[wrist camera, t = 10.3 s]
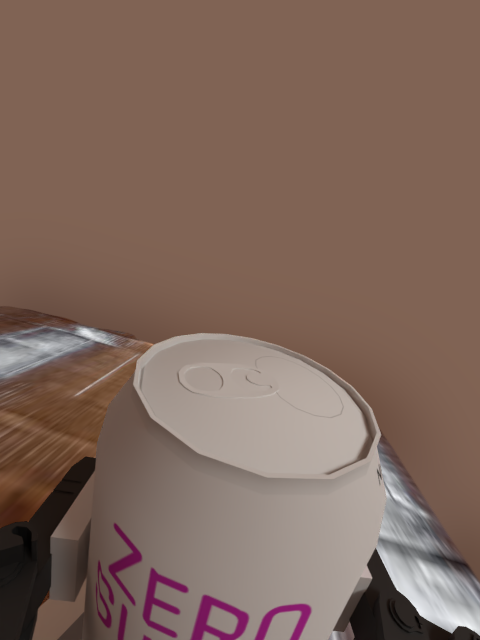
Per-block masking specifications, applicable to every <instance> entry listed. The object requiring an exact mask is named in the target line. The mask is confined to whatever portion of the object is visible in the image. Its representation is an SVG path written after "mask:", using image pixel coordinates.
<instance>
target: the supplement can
mask: <svg viewBox="0 0 480 640" xmlns="http://www.w3.org/2000/svg"><path fill="white" fill-rule="evenodd" d="M380 436H381V433H380V430H379V427H378V425H377V422H376V419H375V417H374V414H373V411H372V408H371V407H370V406H369V405H368V404H367V403H366V402H365V400H364V399H363V398H362V397H361V396H360V395H359V394H358V393H357V391H356V390H355V389H354V388H353V387H352V386H351V385H350V384H348V383H347V382H346V381H344V380H343V379H341V378H340V377H339V376H337V375H336V374H335V373H333V372H332V371H331V370H329V369H328V368H326V367H324V366H322V365H320V364H318V363H316V362H315V361H313V360H311V359H309V358H307V357H305V356H304V355H301V354H298V353H296V352H294V351H291V350H288V349H286V348H283V347H281V346H278V345H275V344H271V343H268V342H264V341H260V340H256V339H253V338H247V337H241V336H234V335H228V334H206V333H199V334H192V335H184V336H176V337H173V338H171V339H168V340H165V341H163V342H160V343H157V344H155V345H153V346H152V347H151V348H150V349H149V350H148V351H147V352H146V353H144V354H143V355H142V356H141V357H140V358H139V359H138V360H137V365H136V371H135V372H134V373H133V375H132V376H131V377H130V379H129V380H128V381H127V382H126V384H125V385H124V386H123V387H122V389H121V390H120V391H119V393H118V394H117V395H116V396H115V398H114V399H113V400H112V401H111V403H110V404H109V406H108V410H107V413H106V416H105V419H104V423H103V426H102V429H101V433H100V436H99V439H98V442H97V452H96V465H95V478H94V491H93V504H92V517H91V530H90V543H89V555H88V568H87V581H86V594H85V607H84V620H83V633H82V640H328V639H329V637H330V635H331V633H332V631H333V629H334V627H335V625H336V623H337V621H338V619H339V617H340V615H341V614H342V612H343V610H344V608H345V606H346V604H347V602H348V600H349V598H350V596H351V594H352V592H353V590H354V588H355V586H356V585H357V583H358V581H359V579H360V577H361V575H362V573H363V571H364V569H365V567H366V565H367V563H368V561H369V559H370V558H371V556H372V554H373V552H374V550H375V548H376V546H377V541H378V537H379V532H380V527H381V523H382V518H383V513H384V509H385V504H386V499H387V498H386V493H385V487H384V482H383V477H382V472H381V466H380V461H379V456H378V451H377V444H378V442H379V439H380Z"/></svg>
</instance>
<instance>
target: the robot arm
mask: <svg viewBox="0 0 480 640" xmlns="http://www.w3.org/2000/svg"><path fill="white" fill-rule="evenodd" d="M95 465H96V458H92V457H84V458H83V459H82V460H80V461H79V462H78V463H76V464H75V465H74V466H72V467H71V469H70V470H69V471H68V472H67V474H66V475H65V476H64V478H63V479H62V481H61V482H60V483H59V484H58V485H57V486H56V488H55V489H54V491H53V492H52V493H51V494H50V495H49V497H48V498H47V499H46V500H45V502H44V503H43V504H42V505H41V507H40V508H39V509H38V510H37V512H36V513H35V514H34V515H33V517H32V518H31V519H30V521H29V522H27V521H25V522H15V523H12V524H10V525H7V526H5V527H2V528H1V529H0V640H32V638H33V634H34V629H35V625H36V621H37V615H38V608H39V607H40V605H41V603H42V601H43V600H44V598H45V596H46V594H47V592H48V591H49V589H50V596H49V599H51V600H60V601H69V602H75V600H76V598H77V596H78V594H79V592H80V589H81V587H82V585H83V583H84V581H85V579H86V577H87V568H88V555H89V543H90V530H91V517H92V504H93V491H94V478H95ZM349 621H350V623H351V626H352V630H353V633H354V636H355V638H354V640H480V636H479V635H478V634H477V633H476V632H474V631H472V630H470V629H469V628H467V627H462V626H458V627H457V628H456V629H455V631H454V632H453V633H452V634H451V633H450V632H448V631H446V630H444V629H442V628H441V627H439V626H437V625H435V624H433V623H431V622H430V621H428V620H426V619H424V618H423V617H421V616H420V615H419V613H418V612H417V610H416V608H415V607H414V606H413V605H412V604H411V602H410V601H409V600H408V599H407V598H406V597H405V596H404V595H402V594H401V593H400V592H399V591H397V590H396V588H395V586H394V584H393V582H392V580H391V578H390V576H389V574H388V572H387V570H386V568H385V566H384V564H383V562H382V560H381V558H380V556H379V554H378V552H377V550H376V548H375V550H374V552H373V554H372V556H371V558H370V559H369V561H368V563H367V565H366V567H365V569H364V571H363V573H362V575H361V577H360V579H359V581H358V583H357V585H356V586H355V588H354V590H353V592H352V594H351V596H350V598H349V600H348V602H347V604H346V606H345V608H344V610H343V612H342V614H341V615H340V617H339V619H338V621H337V623H336V625H335V627H334V629H333V631H341V632H344V631H345V629H346V627H347V625H348V623H349Z"/></svg>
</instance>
